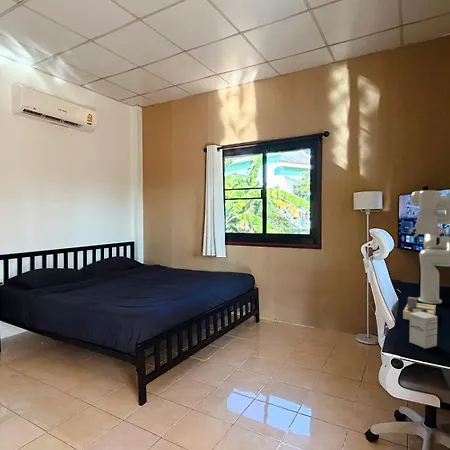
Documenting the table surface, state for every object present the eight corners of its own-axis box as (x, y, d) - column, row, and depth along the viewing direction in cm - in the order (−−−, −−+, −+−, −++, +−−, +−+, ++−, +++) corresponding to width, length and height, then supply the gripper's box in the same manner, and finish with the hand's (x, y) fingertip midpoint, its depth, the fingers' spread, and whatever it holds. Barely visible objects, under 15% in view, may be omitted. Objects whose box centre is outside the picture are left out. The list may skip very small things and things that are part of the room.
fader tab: (408, 304, 179) (408, 296, 179) (416, 306, 177) (417, 297, 176) (407, 306, 176) (407, 298, 176) (416, 307, 174) (416, 299, 174)
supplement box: (408, 342, 141) (408, 313, 140) (421, 339, 143) (421, 310, 143) (424, 349, 134) (425, 318, 133) (437, 346, 136) (438, 315, 136)
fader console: (408, 308, 186) (408, 298, 186) (435, 312, 179) (435, 301, 179) (403, 318, 170) (403, 307, 170) (432, 323, 163) (432, 311, 162)
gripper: (446, 213, 177) (446, 244, 178) (409, 213, 187) (409, 243, 188) (446, 213, 171) (445, 246, 172) (408, 213, 181) (407, 244, 182)
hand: (426, 244), depth 180 cm, fingers open, 9 cm apart
